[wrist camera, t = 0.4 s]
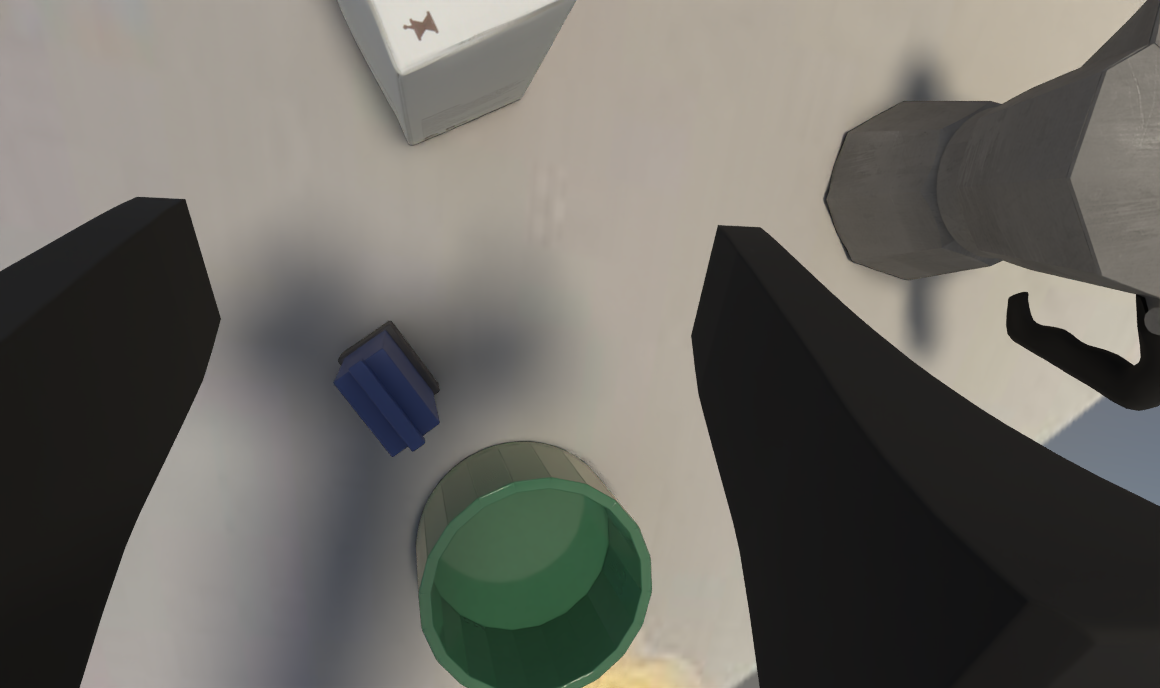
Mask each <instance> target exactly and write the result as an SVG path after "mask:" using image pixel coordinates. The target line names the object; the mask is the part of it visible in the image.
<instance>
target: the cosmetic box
mask: <svg viewBox="0 0 1160 688" xmlns="http://www.w3.org/2000/svg"><path fill="white" fill-rule="evenodd" d="M337 2H338V4H339V7H340V9H341V11H342V14H343V16H344V18H345V20H346V23H347V25H348V27H349V29H350V31H351V33H352V35H353V37H354V39H355V41H356V43H357V45H358V47H359V49H360V50H361V52H362V54H363V56H364V58H365V60H366V62H367V64H368V66H369V67H370V69H371V71H372V73H373V75H374V77H375V79H376V81H377V83H378V84H379V86H380V88H381V90H382V92H383V94H384V95H385V97H386V99H387V101H388V103H389V104H390V106H391V108H392V109H393V111H394V113H395V114H396V116H397V118H398V121H399V123H400V125H401V127H402V130H403V132H404V135H405V137H406V139H407V141H408V143H409V145H415V144H418V143H420V142H422V141H425V140H427V139H429V138H432V137H434V136H436V135H439V134H441V133H443V132H446V131H448V130H450V129H453V128H455V127H457V126H460V125H462V124H464V123H466V122H469V121H471V120H473V119H475V118H478V117H480V116H482V115H484V114H487V113H489V112H491V111H494V110H496V109H498V108H500V107H503V106H505V105H507V104H510V103H512V102H514V101H516V100H519V99H521V98H522V97H523V95H524V93H525V91H526V90H527V88H528V86H529V84H530V83H531V81H532V79H533V77H534V75H535V74H536V72H537V70H538V68H539V67H540V65H541V63H542V61H543V60H544V57H545V55H546V54H547V52H548V50H549V49H550V47H551V45H552V43H553V41H554V39H555V38H556V36H557V34H558V32H559V31H560V29H561V27H562V25H563V23H564V21H565V20H566V18H567V16H568V14H569V12H570V11H571V9H572V7H573V5H574V3H575V2H576V0H337Z"/></svg>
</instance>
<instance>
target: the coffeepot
mask: <svg viewBox="0 0 1160 688" xmlns="http://www.w3.org/2000/svg"><path fill="white" fill-rule="evenodd" d="M826 200H827V203H828V206H829V209H830V213H831V216H832V219H833V222H834V225H835V229H836V231H837V233H838V235H839V237H840V239H841V241H842V243H843V244H844V245H845V247H846V248H847V250H848V253H849V255H850V257H851V260H852V261H854V262H856V263H859V264H862V265H865V266H868V267H870V268H872V269H875V270H877V271H882V272H885V273H888V274H891V275H894V276H896V277H899V278H902V279H905V280H912V279H918V278H923V277H929V276H935V275H941V274H947V273H953V272H959V271H964V270H970V269H976V268H982V267H988V266H992V265H994V264H996V263H998V262H1001V261H1006V262H1009V263H1012V264H1015V265H1018V266H1021V267H1024V268H1027V269H1030V270H1034V271H1038V272H1042V273H1047V274H1051V275H1055V276H1059V277H1064V278H1068V279H1072V280H1077V281H1081V282H1085V283H1090V284H1094V285H1098V286H1103V287H1107V288H1111V289H1116V290H1120V291H1124V292H1128V293H1133V294H1136V308H1137V327H1138V334H1139V342H1140V353H1141V358H1140V361H1139V363H1138V364H1136V365H1133V364H1131V363H1130V362H1128V361H1127V360H1125V359H1124V358H1122V357H1120V356H1119V355H1117V354H1114V353H1112V352H1110V351H1107V350H1104V349H1100V348H1097V347H1093V346H1089V345H1087V344H1085V343H1083V342H1081V341H1080V340H1078V339H1077V338H1076V337H1075V336H1073V335H1072V334H1071V333H1069V332H1067V331H1066V330H1064V329H1060V328H1057V327H1050V326H1043V325H1040V324H1038V323H1036V322H1035V321H1034V320H1033V318H1032V316H1031V312H1030V308H1029V303H1028V292H1021V293H1018V294H1015V295H1013V296H1011V297H1009V299H1008V307H1007V319H1006V327H1007V334H1008V335H1009V336H1010V338H1011V339H1012V340H1013V341H1014V342H1016V343H1018V344H1019V345H1021V346H1023V347H1024V348H1026V349H1028V350H1029V351H1031V352H1032V353H1034V354H1036V355H1038V356H1039V357H1041V358H1043V359H1045V360H1046V361H1048V362H1050V363H1051V364H1053V365H1054V366H1056V367H1058V368H1060V369H1061V370H1063V371H1064V372H1066V373H1067V374H1069V375H1071V376H1073V377H1074V378H1076V379H1078V380H1079V381H1081V382H1083V383H1085V384H1086V385H1088V386H1090V387H1091V388H1093V389H1094V390H1096V391H1097V392H1099V393H1100V394H1102V395H1103V396H1105V397H1106V398H1108V399H1109V400H1111V401H1113V402H1114V403H1117V404H1118V405H1120V406H1122V407H1125V408H1126V409H1132V410H1138V411H1140V410H1146V409H1150V408H1153V407H1157V406H1159V405H1160V0H1147V1H1146V2H1145V3H1144V4H1143V5H1142V6H1141V8H1140V9H1139V10H1138V11H1137V12H1136V13H1135V14H1134V15H1133V16H1132V17H1131V18H1130V19H1129V20H1128V21H1127V22H1126V23H1125V24H1124V25H1123V26H1122V27H1121V28H1120V29H1119V30H1118V31H1117V32H1116V33H1115V34H1114V35H1113V36H1112V37H1111V38H1110V39H1109V40H1108V41H1107V42H1106V43H1105V44H1104V45H1103V46H1102V47H1101V48H1100V49H1099V50H1098V51H1097V52H1096V53H1095V54H1094V55H1093V56H1092V57H1091V58H1090V59H1089V60H1088V61H1087V62H1086V63H1085V64H1084V65H1083V66H1082V67H1081V68H1078V69H1076V70H1073V71H1071V72H1069V73H1066V74H1064V75H1062V76H1059V77H1057V78H1055V79H1052V80H1050V81H1048V82H1045V83H1043V84H1040V85H1038V86H1036V87H1033V88H1031V89H1029V90H1028V91H1026V92H1024V93H1022V94H1020V95H1018V96H1016V97H1014V98H1012V99H1011V100H1009V101H1007V102H1005V103H1003V104H999V103H996V102H992V101H903V102H902V103H900V104H898V105H896V106H894V107H893V108H891V109H889V110H887V111H885V112H883V113H881V114H879V115H877V116H875V117H873V118H871V119H870V120H869V121H867V122H866V123H864V124H862V125H860V126H858V127H857V128H855V129H853V130H851V131H849V132H848V134H847V136H846V139H845V141H844V144H843V146H842V149H841V151H840V153H839V156H838V158H837V161H836V163H835V165H834V169H833V173H832V177H831V182H830V190H829V193H828V196H827V199H826Z"/></svg>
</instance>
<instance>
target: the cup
mask: <svg viewBox="0 0 1160 688" xmlns="http://www.w3.org/2000/svg"><path fill="white" fill-rule="evenodd" d="M416 557H417V577H418V596H419V607H420V618H421V628H422V631H423V633H424V635H425V637H426V639H427V642H428V644H429V646H430V648H431V650H432V652H433V654H434V656H435V658H436V660H437V661H438V663H439V664H441V665H442V666H443V667H444V668H445V669H446V670H447V671H448V672H449V673H450V674H451V675H452V676H453V677H454V678H455V679H456V680H457V681H458V682H459V683H460V684H462V685H463V686H465V687H467V688H582V687H584V686H586V685H588V684H590V683H591V682H593V681H595V680H597V679H598V678H599V677H601V676H602V675H603V674H604V673H605V672H606V671H607V670H608V669H609V668H610V667H611V666H613V665H614V664H615V663H616V662H617V661H618V660H619V659H620V658H621V657H622V656H623V654H625V653H626V651H627V649H628V648H629V646H630V645H631V643H632V641H633V640H634V638H635V636H636V635H637V633H638V632H639V630H640V628H641V627H642V624H643V622H644V618H645V615H646V611H647V607H648V604H649V600H650V596H651V593H652V578H651V558H650V554H649V551H648V549H647V546H646V544H645V541H644V539H643V536H642V534H641V531H640V528H639V526H638V525H637V523H636V522H635V521H634V520H633V519H632V517H631V516H630V515H629V514H628V513H627V511H626V510H625V509H624V508H623V506H622V505H621V504H620V503H619V502H618V500H617V499H616V498H615V497H614V496H613V494H612V493H611V492H610V491H609V489H608V488H607V487H606V486H605V485H604V484H603V482H602V481H601V480H600V479H599V478H598V477H597V475H596V474H595V473H594V472H593V471H592V470H591V469H590V467H589V466H588V465H586V464H585V463H584V462H582V461H581V460H580V459H579V458H577V457H576V456H574V455H572V454H571V453H569V452H567V451H565V450H562V449H560V448H558V447H555V446H551V445H548V444H544V443H537V442H510V443H503V444H500V445H496V446H492V447H489V448H487V449H484V450H481V451H479V452H477V453H475V454H473V455H472V456H470V457H468V458H466V459H465V460H463V461H462V462H461V463H459V464H458V465H456V466H455V467H454V468H453V469H452V470H451V471H450V472H449V473H448V474H446V475H445V477H444V478H443V479H442V480H441V481H440V482H439V484H438V485H437V486H436V488H435V489H434V491H433V492H432V494H431V495H430V497H429V499H428V501H427V503H426V505H425V507H424V509H423V512H422V516H421V519H420V522H419V527H418V533H417V540H416Z"/></svg>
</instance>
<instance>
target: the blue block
mask: <svg viewBox="0 0 1160 688" xmlns="http://www.w3.org/2000/svg"><path fill="white" fill-rule="evenodd" d="M338 362H339V363H340V365H341V367H340V369H339V372H338V374H337V376H336V378H335V380H334V382H333V383H334V385H335V386H336V387H337V389H338V390H339V391H340V392H341V394H342V395H343V396H344V397H345V399H346V400H347V401H348V402H349V404H350V405H351V406H352V407H353V409H354V410H355V411H356V412H357V414H358V415H359V416H360V417H361V419H362V420H363V421H364V422H365V424H366V425H367V426H368V428H369V429H370V430H371V431H372V433H373V434H374V435H375V436H376V438H377V439H378V440H379V441H380V443H381V444H382V445H383V446H384V448H385V449H386V450H387V451H388V453H389V454H390V455H391V456H392V457H394V456H395V455H397V454H398V453H399V452H401V451H402V450H404V449H405V448H406V447H409V448H410V450H411V451H415V450H416V449H418V448H419V447H421V446H422V445H423V444H424V443H425V439H424V437H423V435H424V434H426V433H427V432H429V431H430V430H431V429H433V428H434V427H436V426H437V425H438V424H439V423H440V422H439V417H438V413H437V408H436V403H435V398H434V395H435V394H436V393H438V392H439V391H440V389H439V385H438V382H437V381H436V380H435V378H434V377H433V376H432V374H431V373H430V372H429V370H428V369H427V368H426V366H425V365H424V364H423V362H422V361H421V360H420V358H419V357H418V356H417V354H416V353H415V352H414V351H413V349H412V348H411V347H410V345H409V344H408V343H407V341H406V340H405V339H404V337H403V336H402V335H401V333H400V332H399V331H398V329H397V328H396V327H395V325H394V324H393V323H392V321H388V322H386V323H385V324H384V325H382V326H381V327H379V328H378V329H376V330H375V331H373V332H372V333H371V334H369V335H368V336H366V337H365V338H363V339H362V340H361V341H359V342H358V343H356V344H355V345H353V346H352V347H350V348H349V349H348V350H346V351H345V352H343V353H342V354H341V355H340V357H339V359H338Z"/></svg>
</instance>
